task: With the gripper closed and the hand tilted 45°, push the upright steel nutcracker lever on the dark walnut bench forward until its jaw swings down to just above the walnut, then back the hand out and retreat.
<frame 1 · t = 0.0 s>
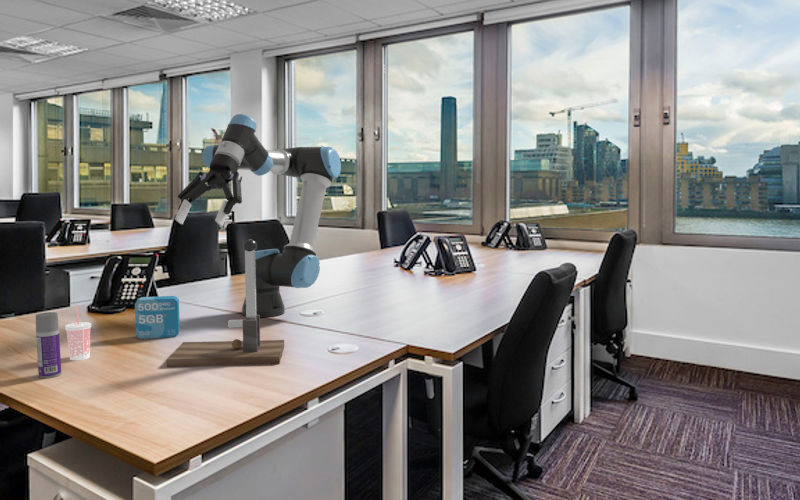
hand: (198, 222, 153), 36 cm above the table, tool tilted 35°, fingers open, 13 cm apart
nutcracker lever: (242, 284, 151), point 20 cm above the table, hinge at 0.0°
container: (50, 376, 136), on the table
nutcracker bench: (229, 356, 153), on the table
data package: (158, 336, 173), on the table
beverage cup: (79, 358, 150), on the table
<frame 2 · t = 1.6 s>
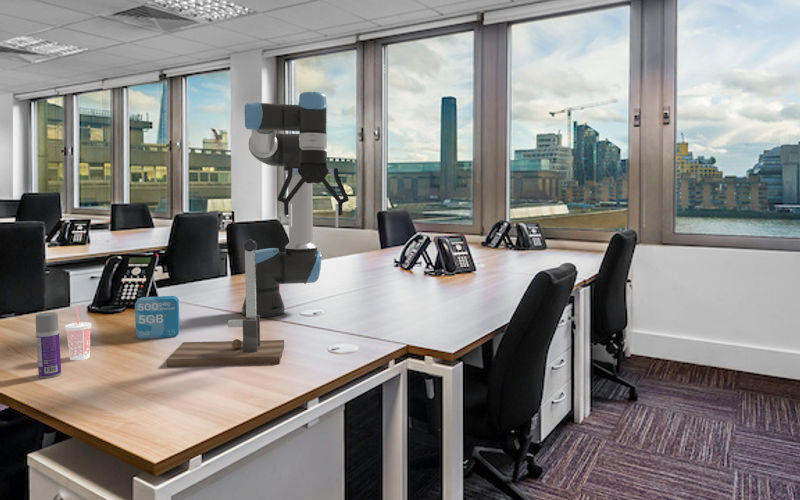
hand: (313, 227, 159), 35 cm above the table, tool pointing down, fingers open, 12 cm apart
nothing on the table moved.
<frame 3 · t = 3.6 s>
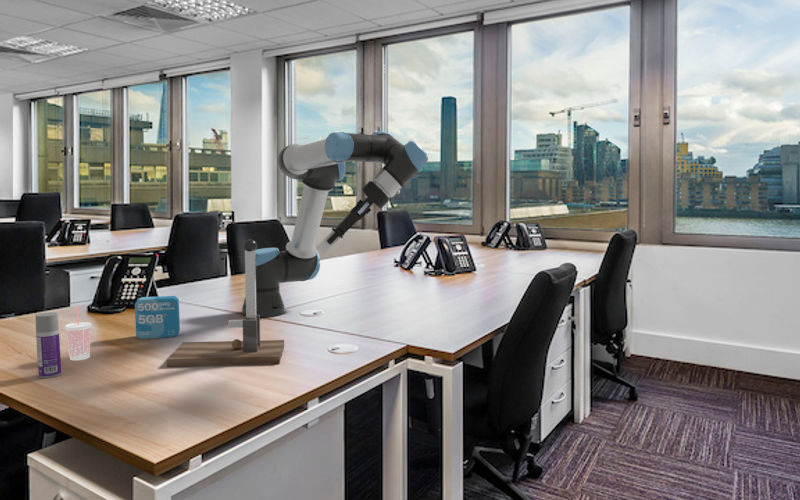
hand: (319, 251, 153), 29 cm above the table, tool tilted 45°, fingers closed
nothing on the table moved.
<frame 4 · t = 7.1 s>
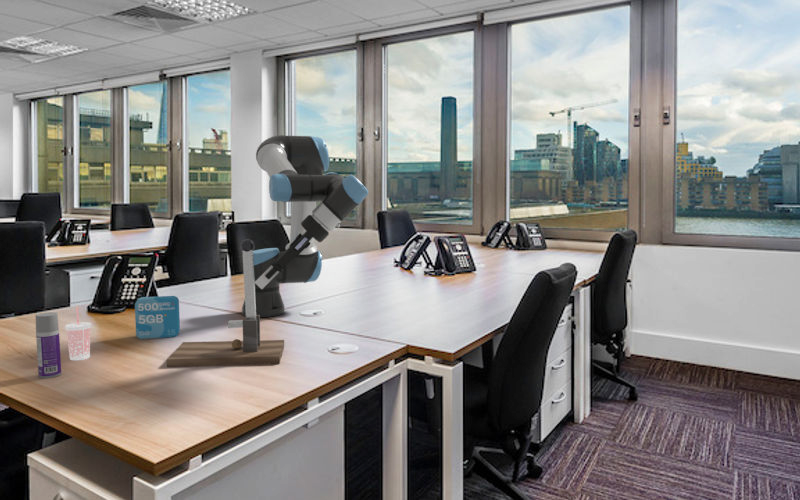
hand: (258, 285, 151), 19 cm above the table, tool tilted 45°, fingers closed
nutcracker lever: (241, 284, 151), point 20 cm above the table, hinge at 1.8°, touching gripper
everything else where it was.
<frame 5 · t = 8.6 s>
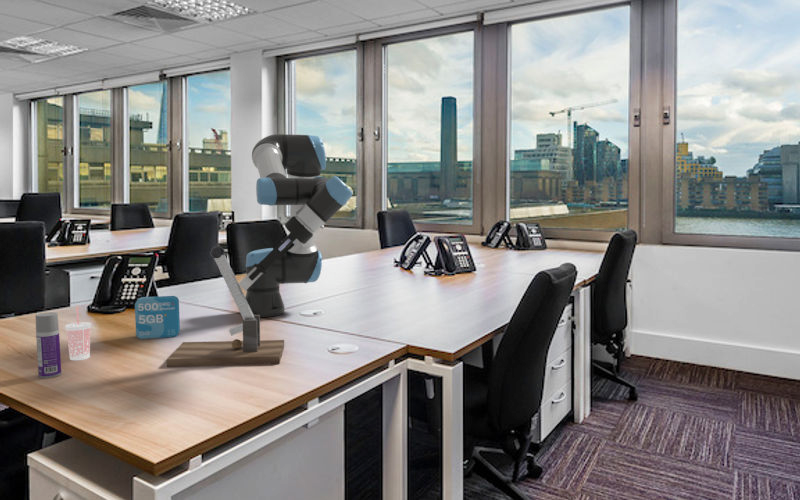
hand: (242, 286, 151), 19 cm above the table, tool tilted 45°, fingers closed
nutcracker lever: (227, 290, 151), point 18 cm above the table, hinge at 23.6°, touching gripper
everything else where it was.
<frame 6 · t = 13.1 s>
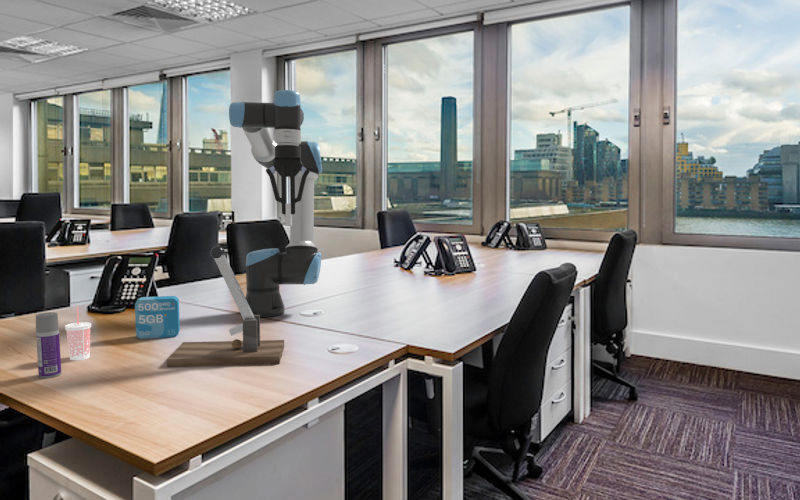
hand: (288, 225, 168), 34 cm above the table, tool pointing down, fingers closed
nutcracker lever: (227, 290, 151), point 18 cm above the table, hinge at 23.6°
everything else where it was.
at the end: nutcracker lever at +24° (first picture: +0°); the gripper is holding nothing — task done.
